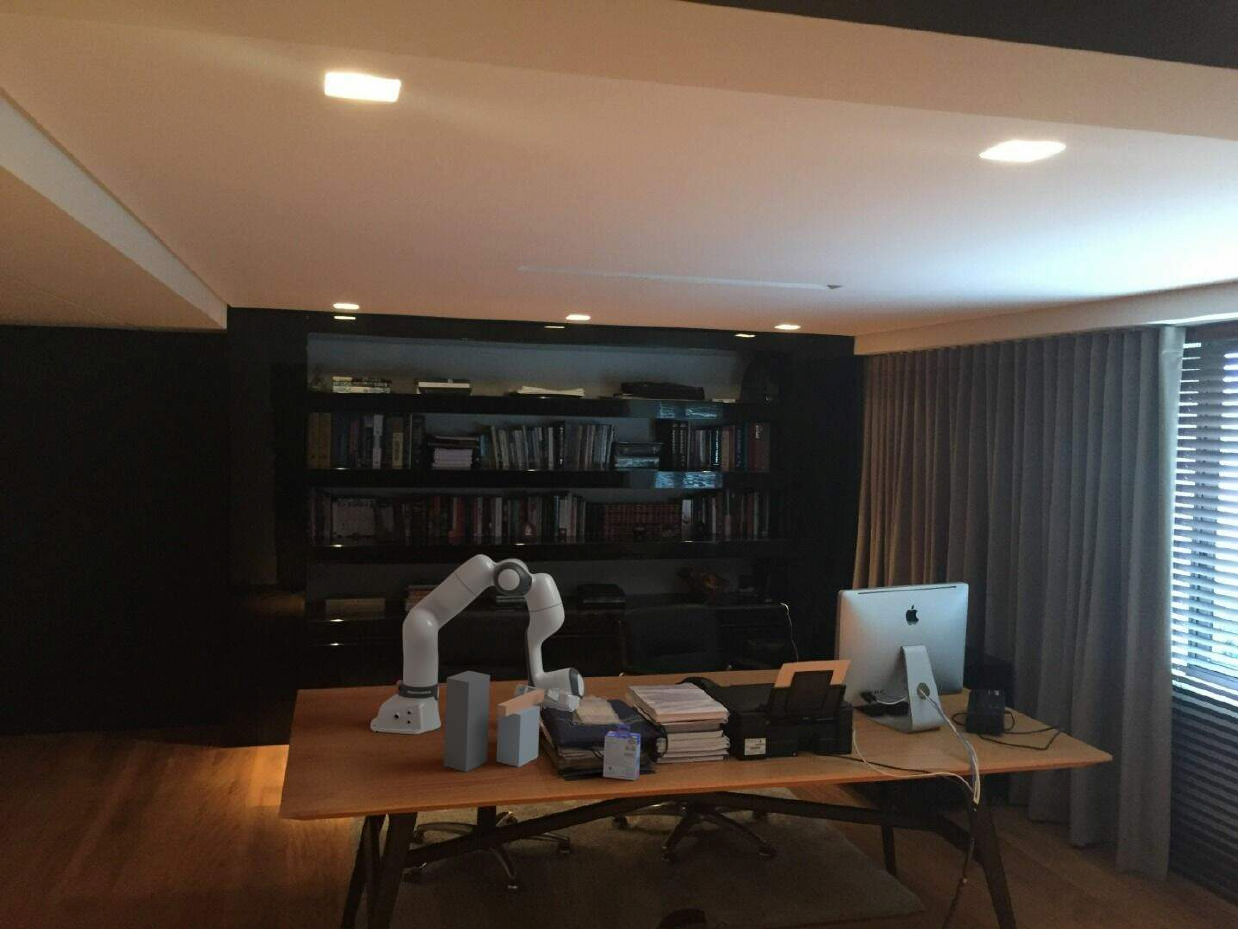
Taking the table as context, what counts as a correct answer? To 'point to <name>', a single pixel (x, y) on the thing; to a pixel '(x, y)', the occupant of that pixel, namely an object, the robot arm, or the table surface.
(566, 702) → the robot arm
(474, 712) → the tall stand
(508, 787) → the table surface
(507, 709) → the bar
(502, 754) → the low block
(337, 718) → the table surface
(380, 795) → the table surface
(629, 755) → the ink cartridge box
